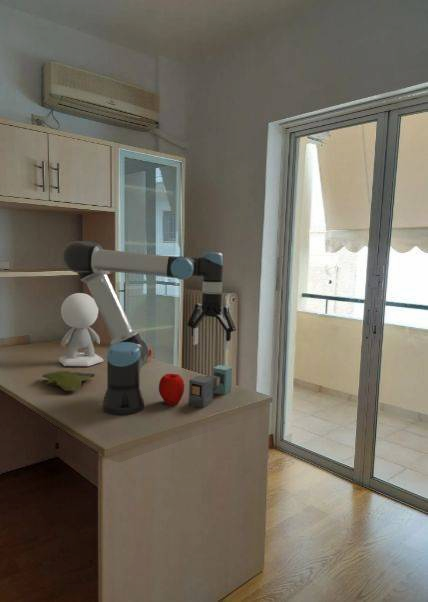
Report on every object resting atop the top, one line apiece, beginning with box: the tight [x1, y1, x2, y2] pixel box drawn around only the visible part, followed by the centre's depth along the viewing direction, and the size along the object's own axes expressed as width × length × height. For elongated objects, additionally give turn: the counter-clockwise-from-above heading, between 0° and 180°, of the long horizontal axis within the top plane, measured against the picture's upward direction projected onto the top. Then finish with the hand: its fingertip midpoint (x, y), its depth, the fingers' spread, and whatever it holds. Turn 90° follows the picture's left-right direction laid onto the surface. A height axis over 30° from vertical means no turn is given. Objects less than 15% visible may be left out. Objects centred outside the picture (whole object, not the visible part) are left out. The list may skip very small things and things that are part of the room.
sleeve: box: [188, 375, 214, 409], centre depth 170 cm, size 7×6×10 cm
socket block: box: [212, 364, 233, 396], centre depth 185 cm, size 6×6×11 cm
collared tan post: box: [192, 375, 220, 395], centre depth 173 cm, size 16×5×5 cm, turn 151°
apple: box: [158, 373, 185, 406], centre depth 170 cm, size 10×10×12 cm
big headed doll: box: [57, 292, 105, 367], centre depth 227 cm, size 20×23×35 cm
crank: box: [146, 345, 154, 363], centre depth 229 cm, size 20×8×8 cm, turn 163°
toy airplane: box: [41, 370, 95, 392], centre depth 192 cm, size 28×22×5 cm
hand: (210, 346), depth 174 cm, fingers open, 13 cm apart
